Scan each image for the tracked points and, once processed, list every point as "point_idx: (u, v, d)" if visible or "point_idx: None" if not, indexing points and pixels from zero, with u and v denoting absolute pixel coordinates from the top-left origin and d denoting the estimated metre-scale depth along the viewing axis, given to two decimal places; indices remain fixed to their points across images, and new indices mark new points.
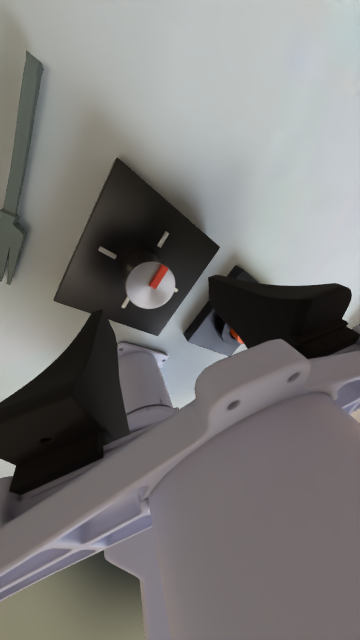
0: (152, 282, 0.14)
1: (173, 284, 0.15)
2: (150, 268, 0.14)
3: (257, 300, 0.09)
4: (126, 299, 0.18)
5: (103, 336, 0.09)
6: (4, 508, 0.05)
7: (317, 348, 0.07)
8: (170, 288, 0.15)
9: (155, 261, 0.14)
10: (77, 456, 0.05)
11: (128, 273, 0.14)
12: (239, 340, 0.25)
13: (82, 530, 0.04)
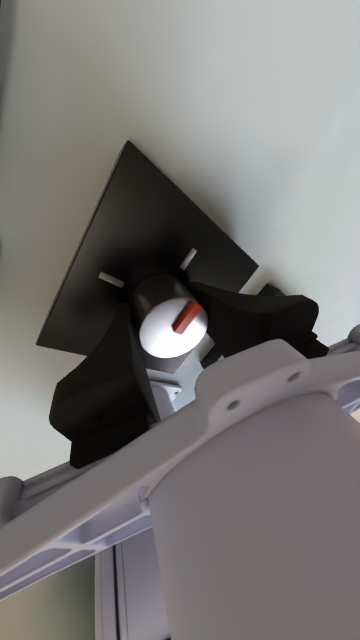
0: (177, 326, 0.10)
1: (205, 325, 0.11)
2: (176, 307, 0.09)
3: (227, 310, 0.08)
4: None
5: (132, 326, 0.10)
6: (4, 508, 0.05)
7: None
8: (201, 330, 0.11)
9: (183, 296, 0.09)
10: (129, 433, 0.06)
11: (143, 314, 0.09)
12: None
13: (82, 530, 0.04)
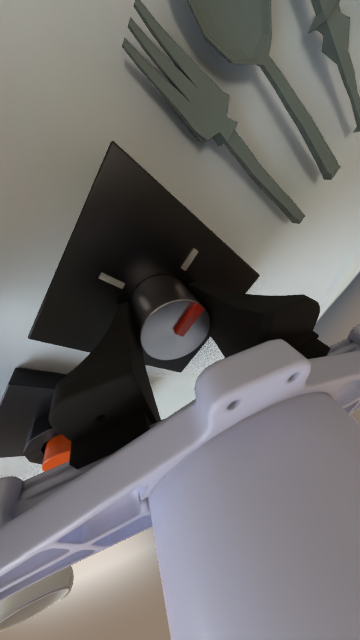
0: (178, 327, 0.10)
1: (207, 326, 0.11)
2: (177, 309, 0.09)
3: (228, 310, 0.08)
4: (117, 281, 0.11)
5: (132, 327, 0.10)
6: (4, 508, 0.05)
7: None
8: (202, 332, 0.11)
9: (185, 298, 0.09)
10: (129, 433, 0.06)
11: (144, 316, 0.09)
12: (51, 460, 0.15)
13: (82, 530, 0.04)
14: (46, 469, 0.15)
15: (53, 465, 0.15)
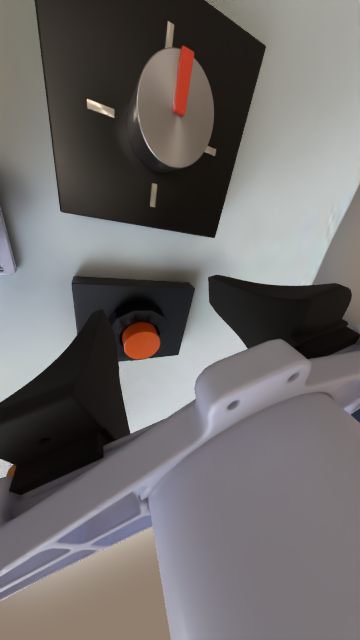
0: (175, 98, 0.09)
1: (209, 98, 0.09)
2: (165, 67, 0.08)
3: (257, 300, 0.09)
4: (106, 108, 0.10)
5: (103, 336, 0.09)
6: (4, 508, 0.05)
7: (317, 348, 0.07)
8: (207, 109, 0.09)
9: (168, 49, 0.08)
10: (77, 456, 0.05)
11: (135, 96, 0.08)
12: (128, 342, 0.18)
13: (82, 530, 0.04)
14: (128, 353, 0.18)
15: (132, 348, 0.18)
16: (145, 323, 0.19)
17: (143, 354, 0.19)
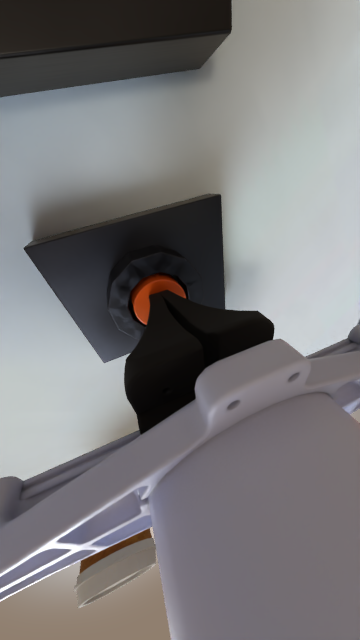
0: None
1: None
2: None
3: (187, 324, 0.08)
4: None
5: None
6: (4, 508, 0.05)
7: None
8: None
9: None
10: None
11: None
12: (138, 305, 0.12)
13: (82, 530, 0.04)
14: (146, 321, 0.13)
15: (147, 312, 0.12)
16: None
17: None
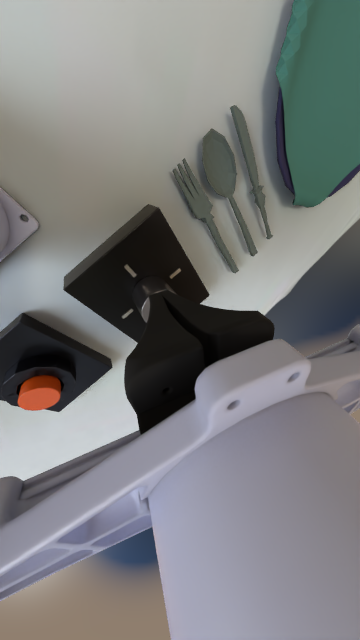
0: None
1: None
2: None
3: (187, 324, 0.08)
4: (133, 272, 0.18)
5: None
6: (4, 508, 0.05)
7: None
8: None
9: (172, 291, 0.17)
10: None
11: (149, 294, 0.17)
12: (30, 392, 0.18)
13: (82, 530, 0.04)
14: (21, 401, 0.19)
15: (28, 398, 0.19)
16: (56, 379, 0.21)
17: (33, 406, 0.20)
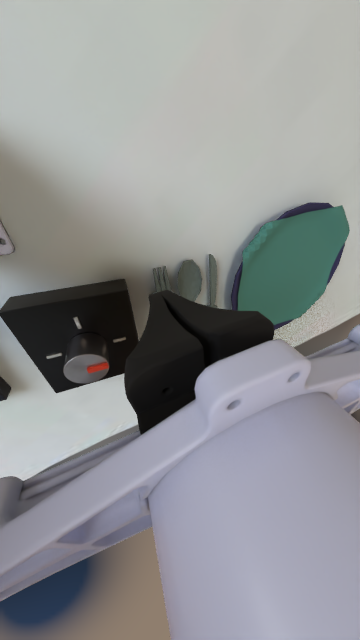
0: (90, 368, 0.18)
1: (102, 376, 0.19)
2: (98, 360, 0.18)
3: (187, 324, 0.08)
4: (79, 325, 0.19)
5: None
6: (4, 508, 0.05)
7: None
8: (98, 377, 0.19)
9: (105, 358, 0.18)
10: None
11: (81, 353, 0.17)
12: None
13: (82, 530, 0.04)
14: None
15: None
16: None
17: None
